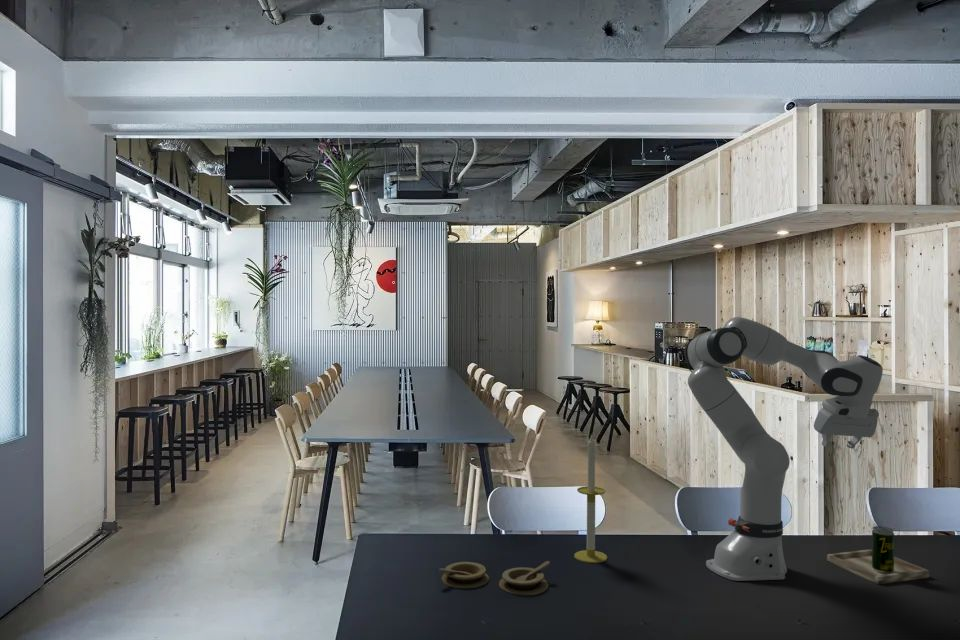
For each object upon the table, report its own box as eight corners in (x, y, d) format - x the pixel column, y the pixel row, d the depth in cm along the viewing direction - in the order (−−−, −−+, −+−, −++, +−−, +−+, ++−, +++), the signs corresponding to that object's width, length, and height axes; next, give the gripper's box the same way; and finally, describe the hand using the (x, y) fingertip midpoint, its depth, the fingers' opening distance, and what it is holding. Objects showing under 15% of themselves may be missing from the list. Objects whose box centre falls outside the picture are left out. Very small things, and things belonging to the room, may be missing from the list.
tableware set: (552, 576, 190) (552, 555, 190) (542, 606, 171) (542, 582, 171) (452, 566, 197) (452, 546, 197) (431, 593, 178) (431, 571, 178)
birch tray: (878, 584, 183) (878, 577, 183) (827, 561, 201) (827, 554, 201) (928, 577, 188) (928, 570, 188) (874, 555, 206) (874, 548, 206)
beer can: (867, 567, 194) (867, 526, 193) (885, 566, 194) (885, 525, 194) (880, 574, 188) (880, 532, 188) (898, 574, 189) (898, 531, 189)
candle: (592, 549, 210) (593, 429, 210) (614, 559, 201) (615, 434, 201) (567, 554, 205) (568, 432, 204) (588, 565, 196) (589, 438, 196)
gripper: (872, 404, 211) (857, 443, 216) (818, 400, 206) (804, 439, 211) (888, 414, 206) (872, 453, 210) (832, 409, 201) (817, 450, 205)
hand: (837, 446), depth 210 cm, fingers open, 8 cm apart
